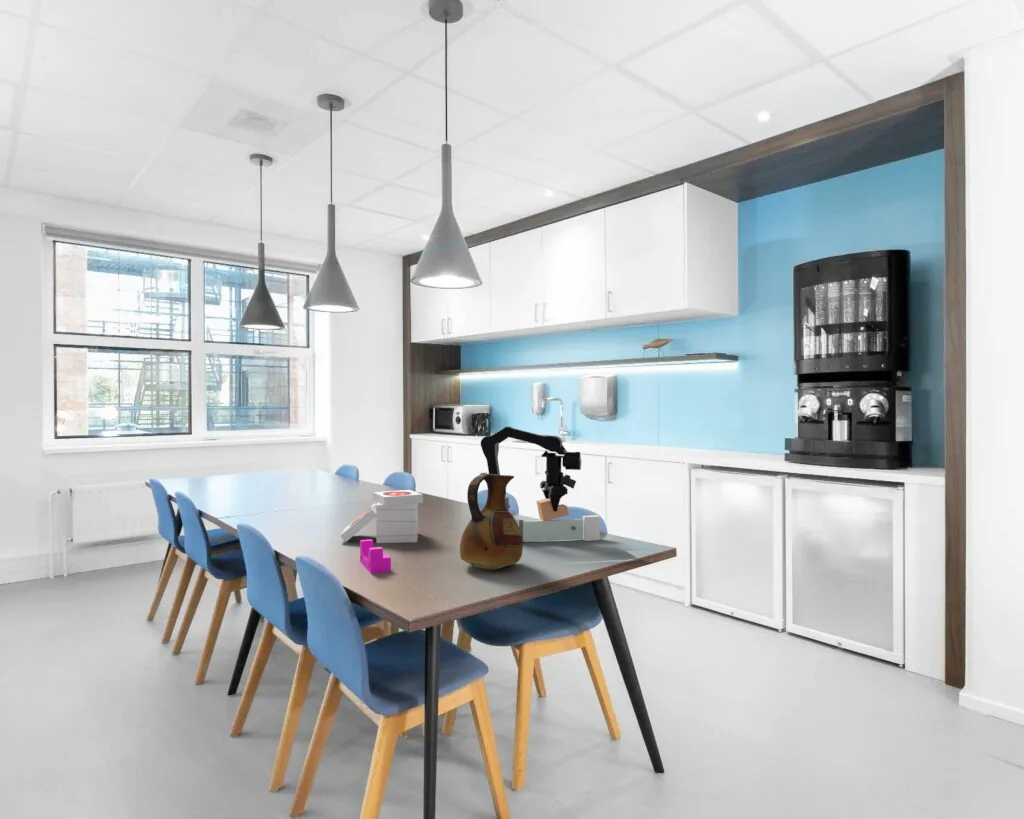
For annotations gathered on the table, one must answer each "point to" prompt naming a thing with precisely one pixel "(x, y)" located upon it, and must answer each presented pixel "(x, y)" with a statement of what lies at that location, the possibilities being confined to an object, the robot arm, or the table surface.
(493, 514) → the ceramic pitcher
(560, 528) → the door
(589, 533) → the white small block
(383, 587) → the table surface
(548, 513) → the tan stair step
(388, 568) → the toy block
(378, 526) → the pizza boxes
